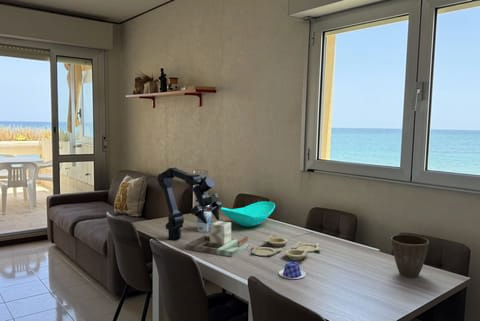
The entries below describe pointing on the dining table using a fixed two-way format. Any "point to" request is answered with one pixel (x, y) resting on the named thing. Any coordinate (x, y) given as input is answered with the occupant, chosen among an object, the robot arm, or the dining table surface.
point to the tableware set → (294, 253)
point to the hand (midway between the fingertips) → (212, 221)
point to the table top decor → (250, 213)
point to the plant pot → (409, 254)
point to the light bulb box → (201, 225)
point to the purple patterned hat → (292, 271)
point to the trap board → (218, 246)
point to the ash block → (220, 232)
